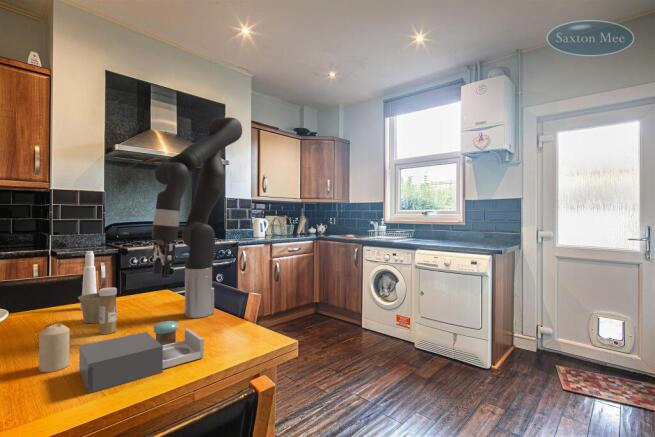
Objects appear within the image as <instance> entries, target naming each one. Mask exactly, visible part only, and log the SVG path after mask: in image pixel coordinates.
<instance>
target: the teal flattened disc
mask: <svg viewBox="0 0 655 437" xmlns="http://www.w3.org/2000/svg"><path fill="white" fill-rule="evenodd" d="M177 330H178V322H177V321H176V320H165V321H160V322H157V323H154V324H153V333H155V334H156V333H158V334H164V333H170V332H174V331H176V332H177Z"/></svg>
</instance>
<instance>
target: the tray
mask: <svg viewBox="0 0 655 437" xmlns="http://www.w3.org/2000/svg"><path fill="white" fill-rule="evenodd" d="M204 341H205V340H204V338H203V337H201V336H200V335H198V334H197V333H195V332H194V331H192V330H190V329H189V328H185V329H184V340H180V341H176V342H175V343H171V344H167V345H163V370H164V369H166V368H167V369H168V368H171V367H174V366H177V365H182V364H184V363H188V362H191V361H195V360H199V359H202V358H204V356H205V355H204V352H205V351H204V350H205V349H204V345H205V342H204Z"/></svg>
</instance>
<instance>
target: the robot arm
mask: <svg viewBox="0 0 655 437" xmlns="http://www.w3.org/2000/svg"><path fill="white" fill-rule="evenodd" d="M242 134H243V126H242V123H241V121H240V120H239V119H237V118H234V117H228V116H227V117H226V116H225V117H215V118H213V119H212V120H211V122H210V124H209V127H208V133H207V137H204V138H202V139H199V140H197V141H196V142H193V143H192V144H190V145H189V146H188V147H186V148H185V149H183V150H182V151H181V152H179V153H178V154H176V155H173V156H172V157H169V158H168V159H165V160H164V161H162V162H161V163H159V164H158V166H157V167H156V168H155V170H154V177H155V180H156V181H157V182H158V183H160V184H161V185H166V187H165V189H164V190H162V191H160V192H158V194H157V197H156V202H155V203H156V204H155V211H154V215H153V221H152V231H151V238H152V239H153V240H156V241H153V242H152V243H153V244H152V245H153V246H152V253H151V254H152V255H151V260H152V261H153V267H152V274H154V275H160V277H161V278H163V279H164V278H166V279H167V278H169V277H170V271H171V266H172V265H173V264H174V263H175V251H176V244H175V243H172V241H177V240H178V238H179V229H180V220H181V216H180V213H181V212H180V211H181V206H182V205H181V204H182V203H181V202H182V198H183V196H184V194H185V191H186V188H187V186H188V183H189V179H190V175H189V173H190V172H191V171H192V172H193V171H194V170H196V169H197V168H198V167H200V166H201V167H200V168H201V169H200V171H199V174H198V175H199V176H198V180H197V183H196V187H195V192H194V195H193V201H192V203H191V204H192V205H191V208H190V211H189V214H188V217H187V220H186V222H185V225H184V226H183V231H182V235H181V236H182V238H181V239H182V241H183V243H184V245H185V246H186V247H189V255H188V258H186V260H185V261H184V316H185V317H186V318H189V319H197V318H206V317H208V316H211V315H213V314H215V287H213V262H214V260H215V254H216V253H215V252H216V251H215V250H216V233H215V230H214V229H213V227H212V226H211V225H209V224H208V222H209V218H210V215H211V212H212V210H213V208H214V207H215V205H216V204H217V202H218V200H219V198H220V197H221V194H222V193H223V188H224V185H225V182H226V170H225V167H224V164H223V161H222V155H221V154H222V151H223V149H225V148H226V147H229V146H230V145H232V144H234V143H236V142H237V141H239V140H240V139H241V137H242Z"/></svg>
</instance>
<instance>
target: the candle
mask: <svg viewBox="0 0 655 437" xmlns="http://www.w3.org/2000/svg"><path fill="white" fill-rule="evenodd" d="M38 337H39V338H38V340H39V341H38V344H39V345H38V347H39V348H38V370H39V372H40V373H44V374H45V373H53V372H58V371H61V370H64V369H66V368H68V367H69V365H70V328H69V327H68V326H66V325H65V324H62V323H60V322H58V323H54V324H52V325H51V326H47V327H45V328H44V329H43V330H41V331H40V333H39V334H38Z"/></svg>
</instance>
